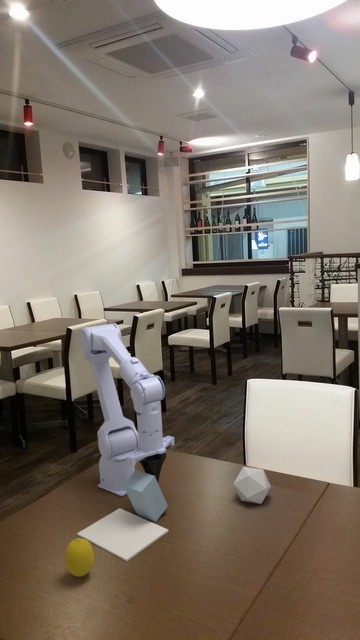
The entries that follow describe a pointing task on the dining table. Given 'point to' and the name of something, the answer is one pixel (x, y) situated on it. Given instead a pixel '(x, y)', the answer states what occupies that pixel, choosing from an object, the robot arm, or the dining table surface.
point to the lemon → (79, 557)
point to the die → (252, 485)
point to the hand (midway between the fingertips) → (153, 482)
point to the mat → (123, 533)
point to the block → (145, 495)
